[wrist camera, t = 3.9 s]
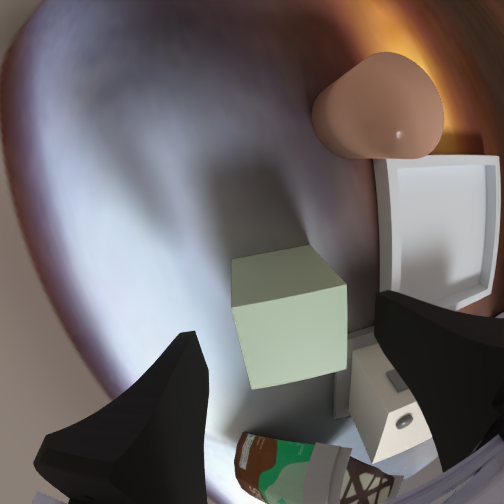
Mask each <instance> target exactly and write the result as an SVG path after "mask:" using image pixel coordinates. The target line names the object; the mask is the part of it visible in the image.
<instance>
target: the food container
mask: <svg viewBox="0 0 504 504" xmlns="http://www.w3.org/2000/svg"><path fill="white" fill-rule="evenodd" d="M351 451H352V448H344V447H340V446H335V445H328V444H322V443H316V444H315V445H311V444H304V443H296V442H290V441H284V440H278V439H272V438H267V437H262V436H257V435H253V434H248V433H244V432H243V433H242V435H241V438H240V440H239V442H238V444H237V449H236V454H235V459H234V466H235V475H236V478H237V480H238V482H239V484H240V486H241V488H242V489H243V490H244V491H246V492H247V493H248V494H250V495H251V496H253V497H255V498H257V499H259V500H261V501H263V502H265V503H267V504H381V503H383V502H386V501H388V500H390V499H393V498H395V497H396V495H397V493H398V490H399V488H400V486H401V483H402V480H403V478H404V476H396V475H388V474H386V473H384V472H382V471H381V470H380V469H378V468H376V467H374V466H371V465H368V464H366V463H363V462H361V461H359V460H357V459H355V458H353V457H351V456H350V454H351Z"/></svg>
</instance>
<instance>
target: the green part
mask: <svg viewBox="0 0 504 504" xmlns="http://www.w3.org/2000/svg"><path fill="white" fill-rule="evenodd" d="M231 309H232V313H233V317H234V322H235V326H236V330H237V334H238V338H239V342H240V346H241V350H242V354H243V358H244V362H245V366H246V369H247V373H248V377H249V381H250V385H251V388H252V390H253V389H259V388H265V387H271V386H276V385H281V384H286V383H291V382H296V381H300V380H305V379H309V378H313V377H317V376H321V375H325V374H329V373H333V372H337V371H340V370H344V369H346V366H347V284H346V283H345V282H344V281H343V280H342V279H341V278H340V276H339V275H338V274H337V273H336V272H335V271H334V270H333V269H332V268H331V267H330V266H329V265H328V263H327V262H326V261H325V260H324V259H323V258H322V257H321V256H320V255H319V254H318V253H317V252H316V251H315V250H314V249H313V247H312V246H311V245H306V246H301V247H295V248H290V249H285V250H279V251H274V252H269V253H263V254H258V255H253V256H247V257H242V258H236V259H231Z"/></svg>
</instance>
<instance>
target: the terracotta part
mask: <svg viewBox="0 0 504 504" xmlns="http://www.w3.org/2000/svg"><path fill="white" fill-rule="evenodd" d="M311 118H312V125H313V128H314V131H315V133H316V135H317V137H318V139H319V140H320V142H321V143H322V144H323V145H324V146H325V147H326V148H327V149H328V150H329V151H331V152H332V153H334V154H335V155H337V156H340V157H343V158H347V159H419V158H422V157H424V156H426V155H428V154H429V153H431V152H432V151H433V150H434V149H435V148H436V146H437V145H438V143H439V141H440V139H441V136H442V133H443V128H444V111H443V105H442V101H441V98H440V95H439V93H438V91H437V89H436V87H435V85H434V83H433V82H432V80H431V79H430V77H429V76H428V75H427V74H426V72H425V71H424V70H423V69H422V68H421V67H420V66H418V65H417V64H416V63H415V62H413V61H412V60H410V59H409V58H407V57H405V56H402V55H400V54H396V53H392V52H380V53H376V54H373V55H371V56H369V57H368V58H366V59H365V60H363V61H362V62H361V63H359V64H358V65H356V66H355V67H354V68H352V69H351V70H349V71H348V72H347V73H345V74H344V75H343V76H341V77H340V78H339V79H337V80H336V81H335V82H333V83H332V84H331V85H329V86H328V87H327V88H326V89H324V90H323V91H322V92H321V93H320V94H319V95H318V96H317V98H316V99H315V101H314V104H313V107H312V113H311Z"/></svg>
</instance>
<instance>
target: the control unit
mask: <svg viewBox="0 0 504 504" xmlns="http://www.w3.org/2000/svg"><path fill="white" fill-rule="evenodd" d="M455 311H457V312H459V309H458V310H455ZM333 415H334V418H335V420H337V419H341V418H344V417H347V416H352V418H353V421H354V423H355V425H356V428H357V430H358V432H359V435H360V437H361V439H362V441H363V444H364V446H365V448H366V451H367V453H368V455H369V458H370V460H371V463H372V464H373V463H376V462H379V461H381V460H384V459H386V458H389V457H391V456H394V455H396V454H398V453H401V452H403V451H405V450H407V449H409V448H411V447H414V446H416V445H418V444H420V443H422V442H424V441H426V440H428V439H430V438H432V435H431V432H430V429H429V427H428V425H427V423H426V420H425V418H424V416H423V414H422V411H421V409H420V407H419V406H418V404H417V402H416V400H415V398H414V396H413V394H412V393H411V391H410V389H409V388H408V387H407V385H406V384H405V382H404V381H403V380H402V378H401V377H400V375H399V374H398V373H397V371H396V370H395V368H394V367H393V366H392V364H391V363H390V362H389V360H388V359H387V357H386V356H385V355H384V353H383V351H382V349H381V348H380V346H379V344H378V342H377V340H376V338H375V336H374V326H372V327H368V328H365V329H361V330H358V331H354V332H351V333H347V366H346V369H344V370H340V371H337V372H334V409H333Z"/></svg>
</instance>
